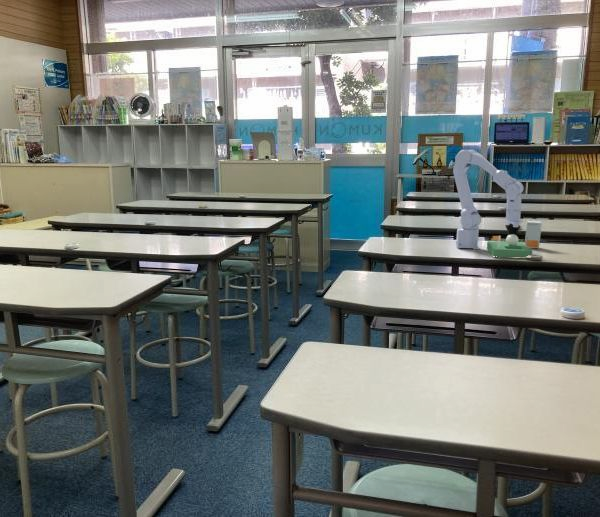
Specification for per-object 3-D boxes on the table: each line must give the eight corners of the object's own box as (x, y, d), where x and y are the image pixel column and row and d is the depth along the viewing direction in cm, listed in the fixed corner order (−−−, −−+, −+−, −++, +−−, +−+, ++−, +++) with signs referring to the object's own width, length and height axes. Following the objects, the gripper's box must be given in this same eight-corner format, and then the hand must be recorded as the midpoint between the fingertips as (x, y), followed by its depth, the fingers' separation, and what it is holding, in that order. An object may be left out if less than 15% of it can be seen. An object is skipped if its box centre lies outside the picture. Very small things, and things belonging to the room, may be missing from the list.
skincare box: (524, 248, 245) (526, 221, 242) (525, 246, 248) (527, 220, 246) (538, 249, 242) (541, 222, 239) (539, 247, 246) (541, 221, 243)
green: (491, 257, 224) (493, 236, 222) (485, 248, 243) (486, 228, 242) (531, 259, 221) (533, 237, 219) (521, 249, 240) (523, 229, 239)
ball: (503, 242, 235) (507, 248, 230) (505, 232, 232) (509, 238, 228) (515, 241, 234) (519, 247, 230) (517, 231, 232) (521, 237, 227)
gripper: (527, 212, 223) (525, 244, 226) (520, 208, 237) (518, 238, 240) (509, 212, 224) (507, 244, 227) (503, 208, 238) (501, 238, 241)
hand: (511, 241), depth 233 cm, fingers closed, pressing on ball
